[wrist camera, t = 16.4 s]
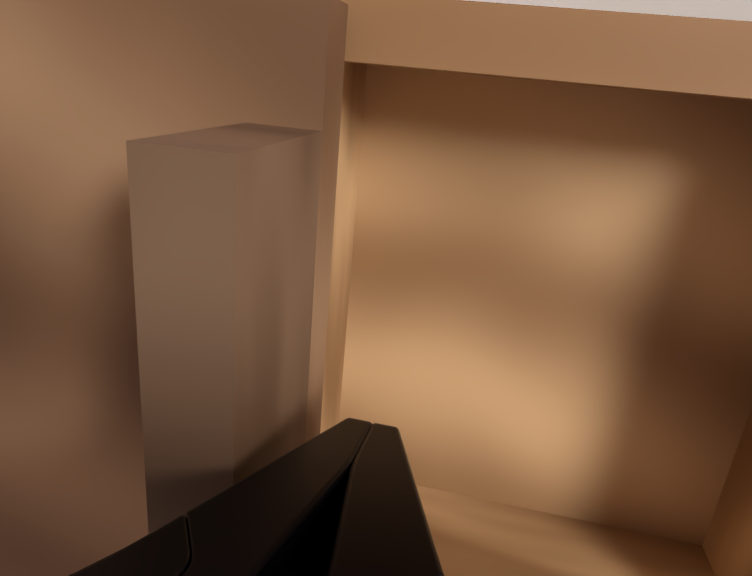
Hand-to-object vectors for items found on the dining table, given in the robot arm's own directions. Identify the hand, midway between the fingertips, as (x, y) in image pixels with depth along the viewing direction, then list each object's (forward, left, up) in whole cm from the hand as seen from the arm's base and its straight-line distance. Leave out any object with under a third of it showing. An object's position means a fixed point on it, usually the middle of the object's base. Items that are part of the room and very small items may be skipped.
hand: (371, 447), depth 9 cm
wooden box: (0, -3, -7) cm, 8 cm away
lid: (0, +7, -2) cm, 7 cm away
